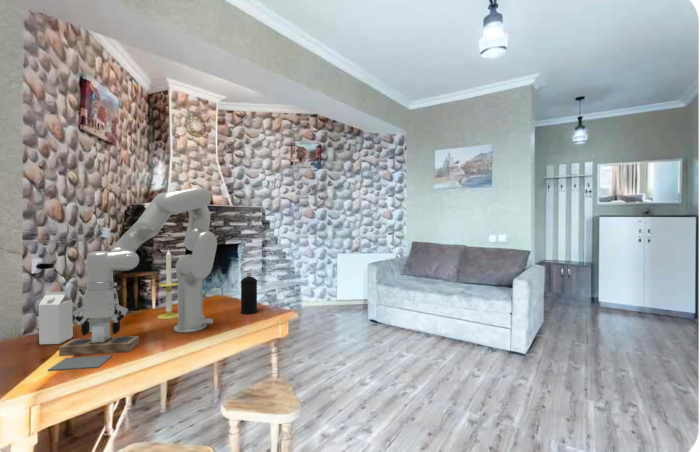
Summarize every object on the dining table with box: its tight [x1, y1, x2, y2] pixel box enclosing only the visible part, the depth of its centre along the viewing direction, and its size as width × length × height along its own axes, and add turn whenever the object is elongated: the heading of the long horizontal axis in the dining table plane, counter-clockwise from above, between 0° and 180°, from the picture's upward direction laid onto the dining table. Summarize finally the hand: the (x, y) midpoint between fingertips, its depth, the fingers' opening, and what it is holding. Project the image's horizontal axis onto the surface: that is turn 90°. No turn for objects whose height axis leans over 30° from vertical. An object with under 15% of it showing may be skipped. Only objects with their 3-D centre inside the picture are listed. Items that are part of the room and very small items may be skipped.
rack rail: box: [58, 335, 140, 357], centre depth 125 cm, size 22×8×3 cm, turn 100°
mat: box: [47, 354, 113, 372], centre depth 113 cm, size 14×9×1 cm, turn 100°
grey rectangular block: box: [91, 322, 111, 344], centre depth 125 cm, size 4×4×9 cm
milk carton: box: [38, 291, 74, 345], centre depth 133 cm, size 7×7×19 cm
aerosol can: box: [239, 271, 258, 315], centre depth 174 cm, size 8×8×20 cm
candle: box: [157, 248, 178, 320], centre depth 167 cm, size 10×10×32 cm
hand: (100, 333), depth 125 cm, fingers open, 9 cm apart
